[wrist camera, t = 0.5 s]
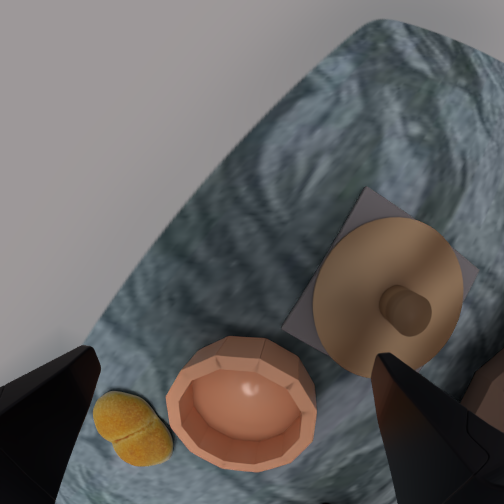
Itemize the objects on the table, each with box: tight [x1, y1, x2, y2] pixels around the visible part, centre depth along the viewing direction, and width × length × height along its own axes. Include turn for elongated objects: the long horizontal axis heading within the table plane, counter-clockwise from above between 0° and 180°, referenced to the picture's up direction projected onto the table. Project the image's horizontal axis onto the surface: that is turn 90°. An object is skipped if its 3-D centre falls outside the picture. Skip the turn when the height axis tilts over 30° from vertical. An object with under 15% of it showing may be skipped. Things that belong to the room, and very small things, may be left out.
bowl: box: [166, 336, 317, 472], centre depth 21 cm, size 11×11×4 cm
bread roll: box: [93, 391, 173, 466], centre depth 23 cm, size 8×9×4 cm
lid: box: [313, 217, 463, 378], centre depth 18 cm, size 12×12×4 cm
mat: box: [281, 186, 479, 372], centre depth 20 cm, size 12×12×1 cm
